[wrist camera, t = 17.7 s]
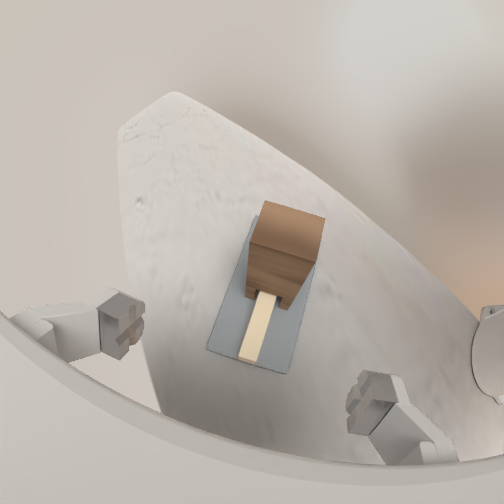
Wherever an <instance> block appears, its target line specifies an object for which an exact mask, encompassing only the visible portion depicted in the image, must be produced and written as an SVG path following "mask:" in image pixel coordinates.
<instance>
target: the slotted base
mask: <svg viewBox="0 0 504 504" xmlns="http://www.w3.org/2000/svg"><path fill="white" fill-rule="evenodd" d="M258 218H259V216H257V215H256V216H255V219H254V221H253V224H252V227H251V229H250V232H249V235H248V237H247V240H246V243H245V245H244V248H243V250H242V253H241V256H240V258H239V261H238V264H237V266H236V269H235V272H234V274H233V277H232V280H231V283H230V285H229V288H228V291H227V293H226V296H225V299H224V301H223V304H222V307H221V309H220V312H219V315H218V318H217V320H216V323H215V326H214V328H213V331H212V334H211V337H210V339H209V342H208V345H207V348H206V349H207V350H209V351H212V352H215V353H217V354H220V355H223V356H226V357H229V358H232V359H235V360H239V361H242V362H245V363H248V364H251V365H255V366H258V367H261V368H265V369H268V370H272V371H275V372H279V373H282V374H287V371H288V368H289V364H290V361H291V358H292V354H293V351H294V347H295V343H296V340H297V336H298V333H299V329H300V325H301V321H302V318H303V314H304V310H305V306H306V302H307V298H308V294H309V290H310V286H311V282H312V277H313V273H314V269H315V265H316V262H315V264H314V266H313V268H312V270H311V271H310V273H309V275H308V277H307V278H306V280H305V282H304V283H303V285H302V287H301V289H300V290H299V292H298V294H297V295H296V297H295V299H294V301H293V302H292V304H291V306H290V307H289V309H288V310H284V309H281V308H278V307H279V304H280V301H281V297H280V296H277V295H273V294H270V293H267V292H264V291H260V290H257V292H256V295H255V298H254V300H252V299H249V298H246V297H245V289H246V277H247V265H248V253H249V242H250V239H251V236H252V234H253V231H254V228H255V226H256V223H257V220H258ZM321 237H322V236H321ZM320 242H321V241H320ZM319 247H320V246H319ZM318 251H319V250H318ZM317 256H318V254H317ZM316 260H317V259H316Z"/></svg>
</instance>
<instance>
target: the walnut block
mask: <svg viewBox="0 0 504 504" xmlns="http://www.w3.org/2000/svg"><path fill="white" fill-rule="evenodd" d="M324 222H325V218H322V217H319V216H316V215H313V214H309V213H306V212H303V211H300V210H296V209H293V208H290V207H286V206H283V205H280V204H276V203H273V202H269V201H266V200H265V202H264V204H263V207H262V210H261V212H260V215H259V218H258V220H257V223H256V226H255V228H254V231H253V234H252V236H251V239H250V242H249V253H248V265H247V277H246V289H245V297H246V298H249V299H252V300H254V298H255V295H256V292H257V290H260V291H264V292H267V293H270V294H273V295H277V296H280V297H281V301H280V304H279V307H278V308H281V309H284V310H288V309H289V307H290V306H291V304H292V302H293V301H294V299H295V297H296V295H297V294H298V292H299V290H300V289H301V287H302V285H303V283H304V282H305V280H306V278H307V277H308V275H309V273H310V271H311V270H312V268H313V266H314V264H315V262H316V259H317V254H318V250H319V246H320V241H321V236H322V232H323V227H324Z"/></svg>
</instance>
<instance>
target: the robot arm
mask: <svg viewBox="0 0 504 504" xmlns="http://www.w3.org/2000/svg"><path fill="white" fill-rule="evenodd" d="M144 312H145V304H144V302H143V301H141V300H139V299H136V298H134V297H132V296H130V295H127V294H125V293H123V292H120V291H119V290H116V289H114V288H110V287H109V288H107V289H105V290H104V291H102V292H101V293H99V294H98V295H96V296H95V297H93V298H91V299H90V300H89V301H87V302H85V303H83V302H74V303H65V304H55V305H45V306H36V307H28V308H26V309H25V310H23V311H22V312H20V313H18V314H16V315H15V316H13V317H12V318H10V319H9V318H7V317H6V316H5V315H4V314H3V313H2V312H1V311H0V504H504V455H499V456H494V457H489V458H483V459H477V460H471V461H463V462H459V460H458V457H457V454H456V451H455V448H454V445H453V442H452V440H451V439H450V438H449V437H448V436H447V435H446V434H444V433H443V432H442V431H441V430H440V429H439V428H438V427H437V426H436V425H435V424H434V423H433V422H432V421H431V420H430V419H428V418H427V417H426V416H425V415H424V414H423V413H422V412H421V411H420V410H419V409H418V408H417V407H416V406H415V405H411V404H410V401H409V398H408V395H407V392H406V389H405V386H404V383H403V380H402V378H401V377H400V376H398V375H391V374H383V373H378V372H372V371H367V370H363V371H362V372H361V374H360V375H359V377H358V384H356V385H355V386H353V387H352V388H351V390H350V392H349V394H348V397H347V400H346V411H347V412H348V413H349V417H348V418H347V428H348V433H352V434H358V435H365V436H368V437H369V439H370V440H371V442H372V444H373V445H374V447H375V448H376V450H377V451H378V453H379V454H380V456H381V457H382V459H383V460H384V462H385V463H386V465H371V464H357V463H346V462H337V461H329V460H322V459H315V458H309V457H303V456H298V455H292V454H288V453H283V452H278V451H274V450H269V449H265V448H261V447H257V446H253V445H250V444H246V443H242V442H239V441H236V440H232V439H229V438H226V437H223V436H219V435H216V434H213V433H210V432H207V431H205V430H202V429H199V428H196V427H194V426H191V425H188V424H186V423H183V422H181V421H178V420H176V419H173V418H171V417H168V416H166V415H164V414H161V413H159V412H157V411H154V410H152V409H150V408H148V407H146V406H144V405H141V404H139V403H137V402H135V401H133V400H131V399H129V398H127V397H125V396H123V395H121V394H119V393H118V392H116V391H114V390H112V389H110V388H108V387H107V386H105V385H103V384H101V383H99V382H98V381H96V380H94V379H92V378H91V377H89V376H87V375H86V374H84V373H82V372H81V371H79V370H78V369H76V368H75V367H73V366H71V365H70V364H68V363H69V362H72V361H75V360H79V359H82V358H85V357H87V356H91V355H94V354H97V353H100V352H101V351H102V352H103V353H105V354H107V355H109V356H112V357H114V358H116V359H118V360H121V359H122V357H123V356H124V355H125V354H126V353H127V352H128V351H129V346H130V345H134V344H136V343H137V342H138V340H139V339H140V337H141V335H142V333H143V329H144V321H143V319H142V317H141V315H142V314H143V313H144ZM472 367H473V373H474V376H475V379H476V382H477V384H478V386H479V388H480V389H481V390H482V391H483V392H484V393H485V394H487V395H490V396H492V397H494V399H495V400H496V401H497V403H498V404H502V403H504V305H497V306H486V307H483V308H482V310H481V317H480V324H479V327H478V329H477V331H476V334H475V337H474V340H473V346H472Z"/></svg>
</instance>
